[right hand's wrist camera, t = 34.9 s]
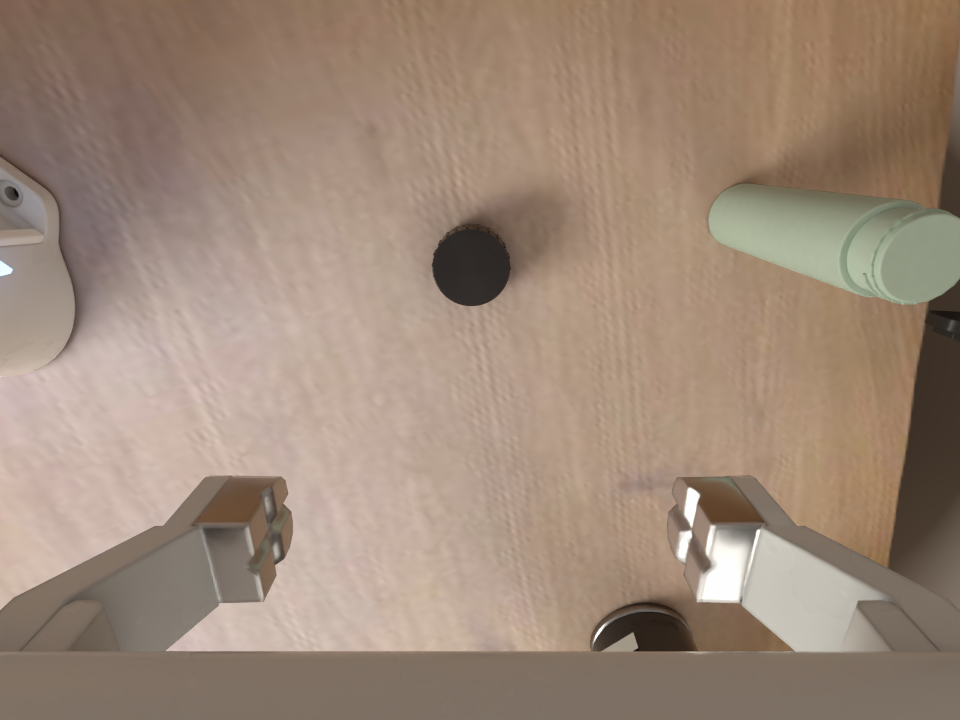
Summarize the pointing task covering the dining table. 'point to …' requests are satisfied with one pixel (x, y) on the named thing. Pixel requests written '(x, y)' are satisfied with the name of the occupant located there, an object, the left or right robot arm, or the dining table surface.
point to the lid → (471, 265)
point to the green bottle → (844, 239)
